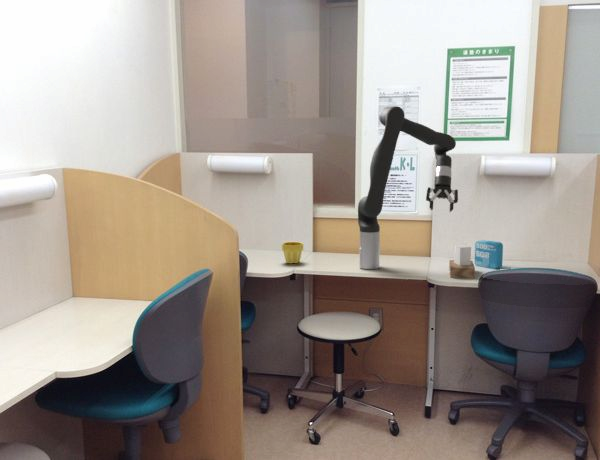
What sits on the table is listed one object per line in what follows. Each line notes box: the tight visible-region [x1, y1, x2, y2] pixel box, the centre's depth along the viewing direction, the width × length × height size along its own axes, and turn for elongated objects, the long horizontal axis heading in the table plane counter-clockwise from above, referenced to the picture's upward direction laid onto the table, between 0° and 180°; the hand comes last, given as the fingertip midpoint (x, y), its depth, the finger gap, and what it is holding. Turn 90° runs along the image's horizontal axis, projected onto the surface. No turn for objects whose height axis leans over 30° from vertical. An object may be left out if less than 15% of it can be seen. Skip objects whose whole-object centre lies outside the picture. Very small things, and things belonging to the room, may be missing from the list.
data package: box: [473, 239, 504, 270], centre depth 273 cm, size 12×4×12 cm, turn 40°
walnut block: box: [448, 259, 476, 280], centre depth 260 cm, size 10×16×5 cm, turn 168°
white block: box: [453, 244, 472, 266], centre depth 258 cm, size 5×6×8 cm
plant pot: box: [281, 241, 304, 264], centre depth 288 cm, size 10×10×10 cm
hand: (441, 210), depth 271 cm, fingers open, 8 cm apart
